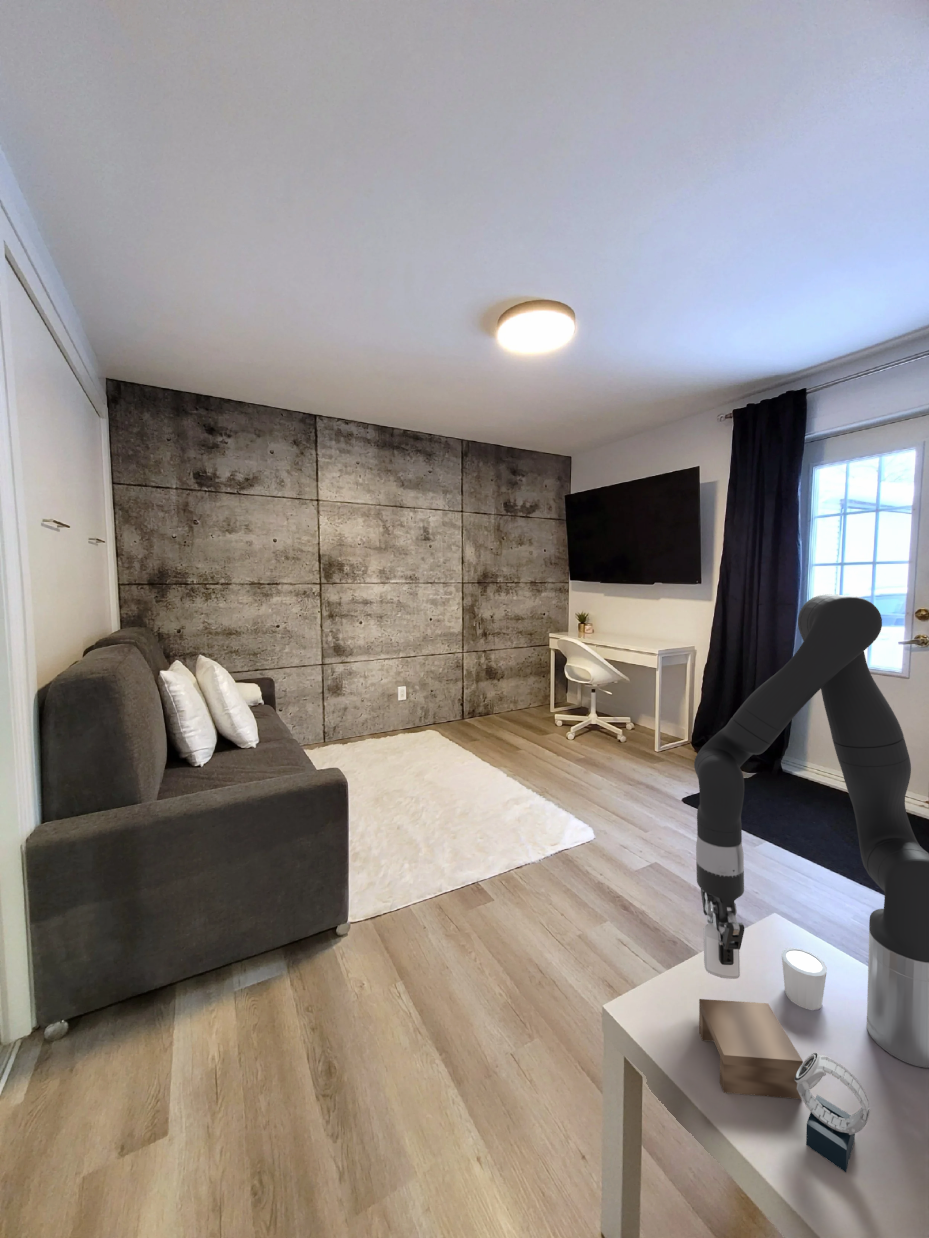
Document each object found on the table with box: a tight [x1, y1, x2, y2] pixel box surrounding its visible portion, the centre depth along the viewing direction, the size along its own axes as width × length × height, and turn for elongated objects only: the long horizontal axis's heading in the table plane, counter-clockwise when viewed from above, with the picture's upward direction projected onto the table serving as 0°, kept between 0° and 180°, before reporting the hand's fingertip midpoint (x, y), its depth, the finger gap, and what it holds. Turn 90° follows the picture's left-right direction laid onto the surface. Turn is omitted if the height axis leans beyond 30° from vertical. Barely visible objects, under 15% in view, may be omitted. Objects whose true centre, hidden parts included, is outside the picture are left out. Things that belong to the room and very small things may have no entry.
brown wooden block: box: [698, 998, 804, 1100], centre depth 77 cm, size 11×10×6 cm
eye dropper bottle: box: [703, 921, 741, 980], centre depth 88 cm, size 4×6×12 cm
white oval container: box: [781, 947, 828, 1011], centre depth 89 cm, size 7×7×7 cm
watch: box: [795, 1052, 871, 1173], centre depth 66 cm, size 6×8×11 cm
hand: (721, 953), depth 88 cm, fingers closed on eye dropper bottle, 3 cm apart
